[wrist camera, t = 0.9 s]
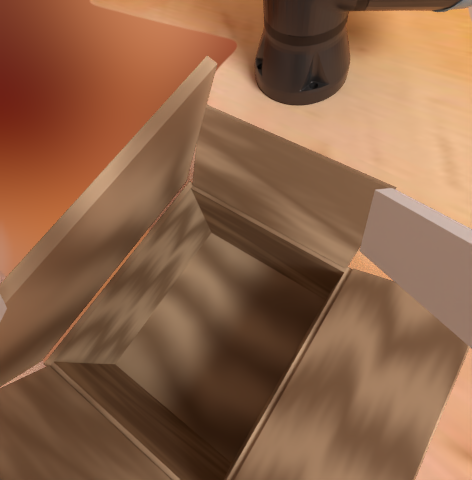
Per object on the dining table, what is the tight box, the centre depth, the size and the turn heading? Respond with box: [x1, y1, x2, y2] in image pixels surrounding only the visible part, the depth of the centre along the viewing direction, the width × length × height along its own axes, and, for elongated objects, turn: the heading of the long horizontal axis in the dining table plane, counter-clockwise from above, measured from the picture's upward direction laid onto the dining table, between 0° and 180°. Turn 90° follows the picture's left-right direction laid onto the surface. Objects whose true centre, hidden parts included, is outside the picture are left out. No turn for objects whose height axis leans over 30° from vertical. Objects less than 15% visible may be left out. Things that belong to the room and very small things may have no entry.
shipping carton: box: [0, 105, 470, 480], centre depth 28 cm, size 30×26×19 cm
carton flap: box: [0, 56, 217, 387], centre depth 21 cm, size 20×17×1 cm
